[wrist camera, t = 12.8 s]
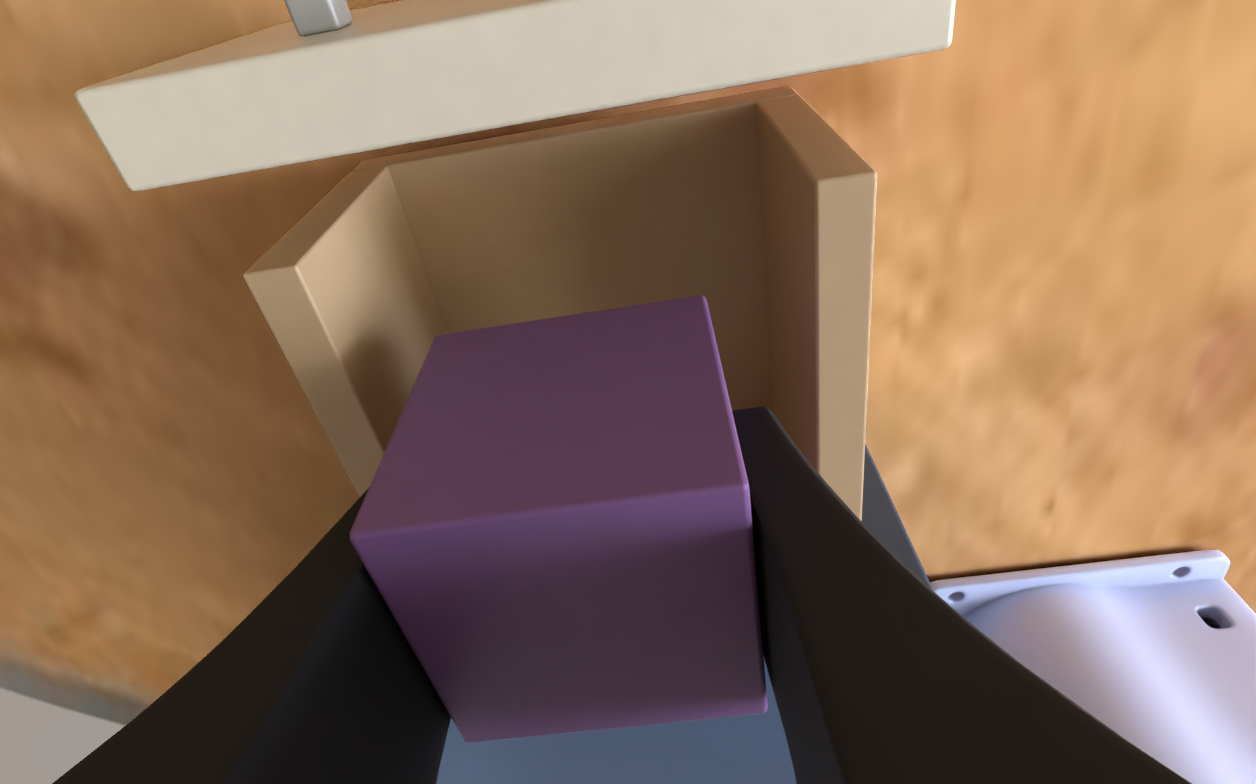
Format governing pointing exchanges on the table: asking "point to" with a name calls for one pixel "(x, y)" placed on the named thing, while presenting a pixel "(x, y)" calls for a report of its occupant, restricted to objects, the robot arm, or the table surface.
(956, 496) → the table surface
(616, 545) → the block
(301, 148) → the drawer
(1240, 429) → the table surface
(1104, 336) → the table surface
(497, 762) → the cabinet
